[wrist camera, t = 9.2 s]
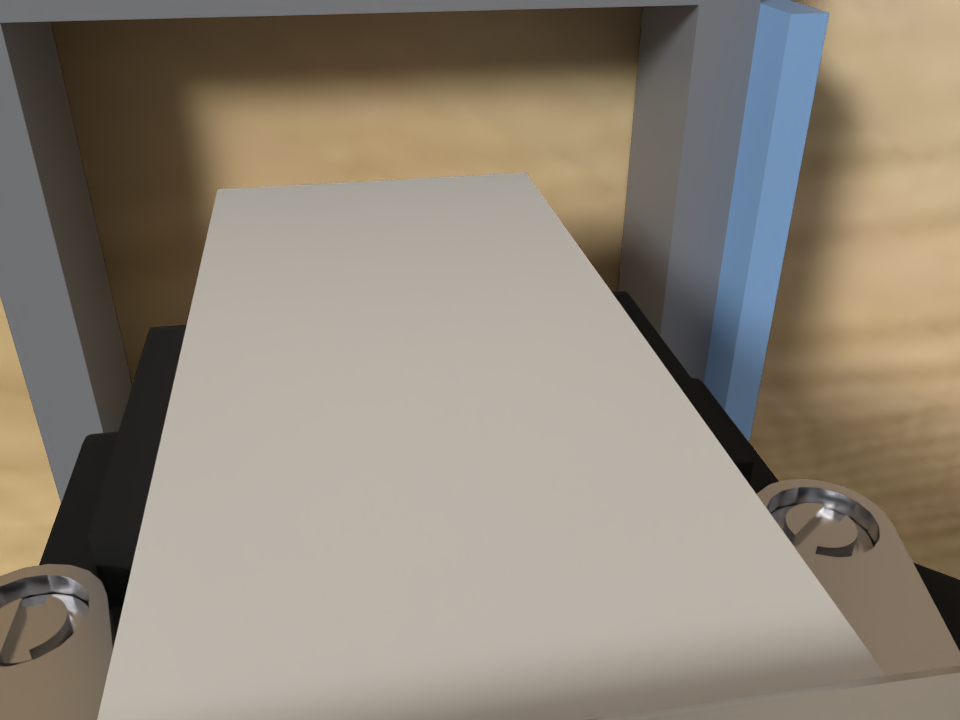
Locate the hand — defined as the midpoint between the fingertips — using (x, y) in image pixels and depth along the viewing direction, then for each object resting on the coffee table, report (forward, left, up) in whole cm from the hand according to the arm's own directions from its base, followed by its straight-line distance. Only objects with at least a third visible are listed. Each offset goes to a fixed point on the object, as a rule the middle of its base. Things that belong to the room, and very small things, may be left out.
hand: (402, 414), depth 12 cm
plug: (0, 0, -3) cm, 3 cm away
